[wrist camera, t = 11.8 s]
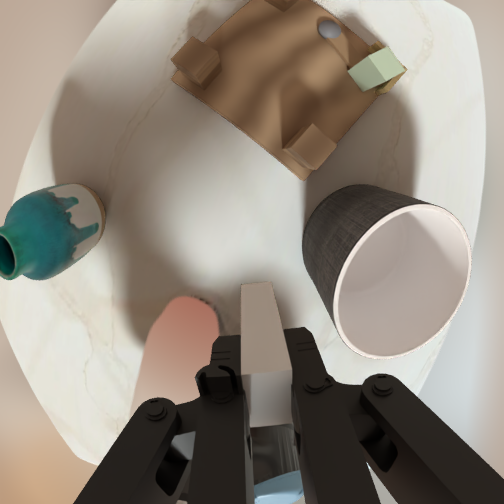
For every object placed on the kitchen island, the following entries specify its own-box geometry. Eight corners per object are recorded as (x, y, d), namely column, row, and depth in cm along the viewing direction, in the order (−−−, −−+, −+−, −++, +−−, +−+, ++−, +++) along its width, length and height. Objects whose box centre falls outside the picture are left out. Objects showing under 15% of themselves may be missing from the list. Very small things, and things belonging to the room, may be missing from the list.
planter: (394, 169, 36) (464, 182, 21) (414, 272, 42) (469, 319, 27) (284, 208, 38) (310, 243, 23) (320, 313, 44) (350, 380, 29)
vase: (56, 231, 38) (-24, 277, 20) (70, 169, 35) (-22, 189, 17) (106, 257, 40) (35, 321, 21) (124, 193, 37) (41, 227, 18)
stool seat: (391, 76, 32) (423, 62, 23) (300, 179, 37) (317, 186, 28) (276, -14, 27) (283, -46, 18) (174, 82, 32) (154, 63, 23)
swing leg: (330, 19, 27) (346, -3, 20) (380, 82, 30) (405, 70, 23) (311, 28, 28) (324, 5, 21) (362, 92, 31) (386, 81, 24)
